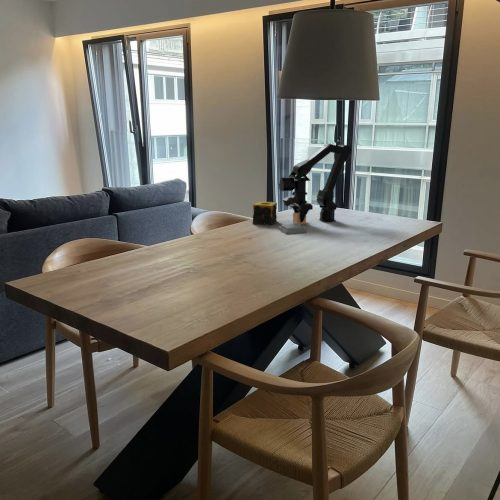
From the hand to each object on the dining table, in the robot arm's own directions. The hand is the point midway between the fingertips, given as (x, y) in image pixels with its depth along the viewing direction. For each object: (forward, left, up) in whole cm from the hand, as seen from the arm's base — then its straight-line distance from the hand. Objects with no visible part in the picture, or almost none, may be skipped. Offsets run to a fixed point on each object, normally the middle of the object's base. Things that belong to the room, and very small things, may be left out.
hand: (299, 221), depth 246 cm
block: (0, 0, -1) cm, 1 cm away
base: (+10, +15, -1) cm, 18 cm away
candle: (+16, -7, -1) cm, 18 cm away
